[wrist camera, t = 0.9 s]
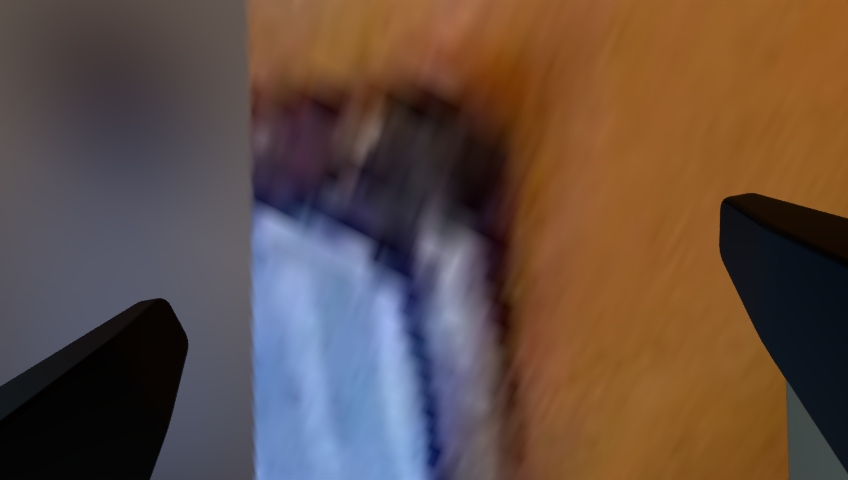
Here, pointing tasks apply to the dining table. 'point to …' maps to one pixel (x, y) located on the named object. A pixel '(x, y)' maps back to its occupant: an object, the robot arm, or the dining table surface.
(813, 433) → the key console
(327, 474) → the dining table surface
